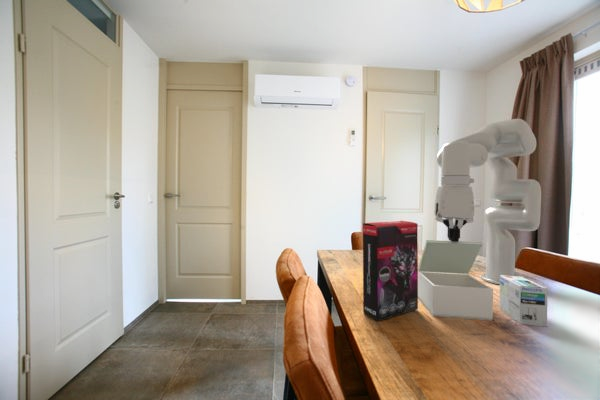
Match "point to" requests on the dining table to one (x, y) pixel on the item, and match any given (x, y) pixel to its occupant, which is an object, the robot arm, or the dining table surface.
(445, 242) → the lid
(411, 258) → the graphics card box
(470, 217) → the robot arm
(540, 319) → the light bulb box
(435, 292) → the carton
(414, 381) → the dining table surface
